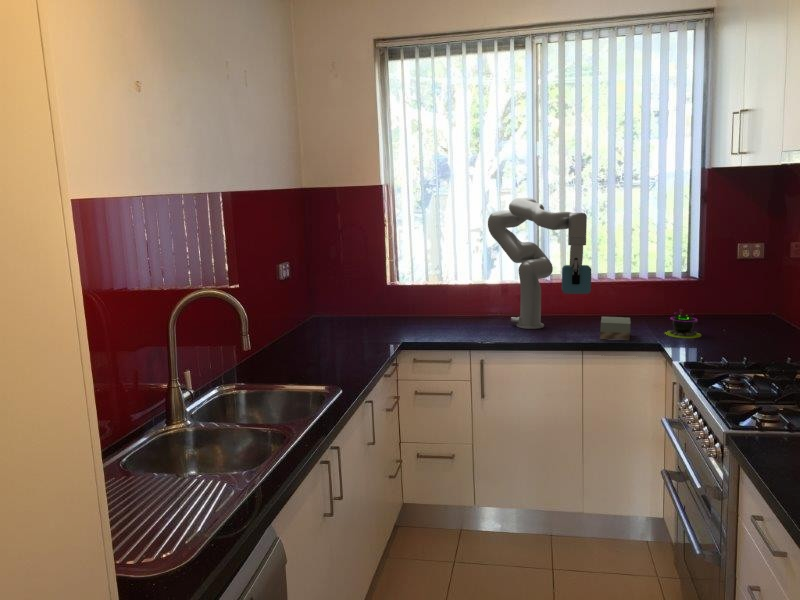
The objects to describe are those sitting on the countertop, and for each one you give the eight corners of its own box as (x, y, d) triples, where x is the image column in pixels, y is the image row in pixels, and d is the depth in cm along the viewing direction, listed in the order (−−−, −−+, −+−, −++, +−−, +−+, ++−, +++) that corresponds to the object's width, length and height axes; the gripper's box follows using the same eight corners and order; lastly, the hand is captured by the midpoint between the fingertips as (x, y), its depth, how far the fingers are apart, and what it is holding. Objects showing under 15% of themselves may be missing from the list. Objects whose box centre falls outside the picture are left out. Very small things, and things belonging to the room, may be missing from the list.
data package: (589, 292, 291) (590, 265, 289) (590, 293, 287) (591, 266, 285) (561, 292, 293) (562, 265, 291) (562, 293, 289) (562, 266, 287)
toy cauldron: (705, 333, 292) (707, 309, 290) (695, 340, 280) (697, 314, 278) (670, 329, 301) (671, 305, 299) (659, 335, 290) (660, 311, 288)
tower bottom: (599, 340, 284) (600, 331, 284) (600, 334, 296) (601, 325, 296) (629, 342, 280) (629, 333, 280) (629, 335, 293) (629, 326, 292)
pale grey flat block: (600, 331, 284) (600, 322, 283) (601, 325, 296) (601, 316, 295) (630, 333, 280) (630, 323, 279) (629, 326, 292) (630, 317, 291)
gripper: (569, 239, 295) (568, 280, 298) (566, 243, 279) (565, 285, 282) (587, 239, 293) (586, 280, 296) (585, 243, 277) (584, 286, 280)
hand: (576, 282), depth 289 cm, fingers closed on data package, 5 cm apart
